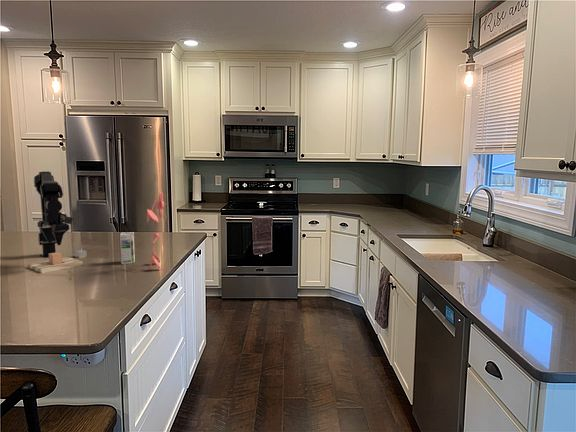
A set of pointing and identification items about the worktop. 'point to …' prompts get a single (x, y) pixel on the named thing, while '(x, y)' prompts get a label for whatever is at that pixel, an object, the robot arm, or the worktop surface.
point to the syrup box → (127, 248)
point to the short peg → (80, 253)
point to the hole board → (46, 267)
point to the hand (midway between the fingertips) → (54, 243)
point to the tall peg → (55, 258)
